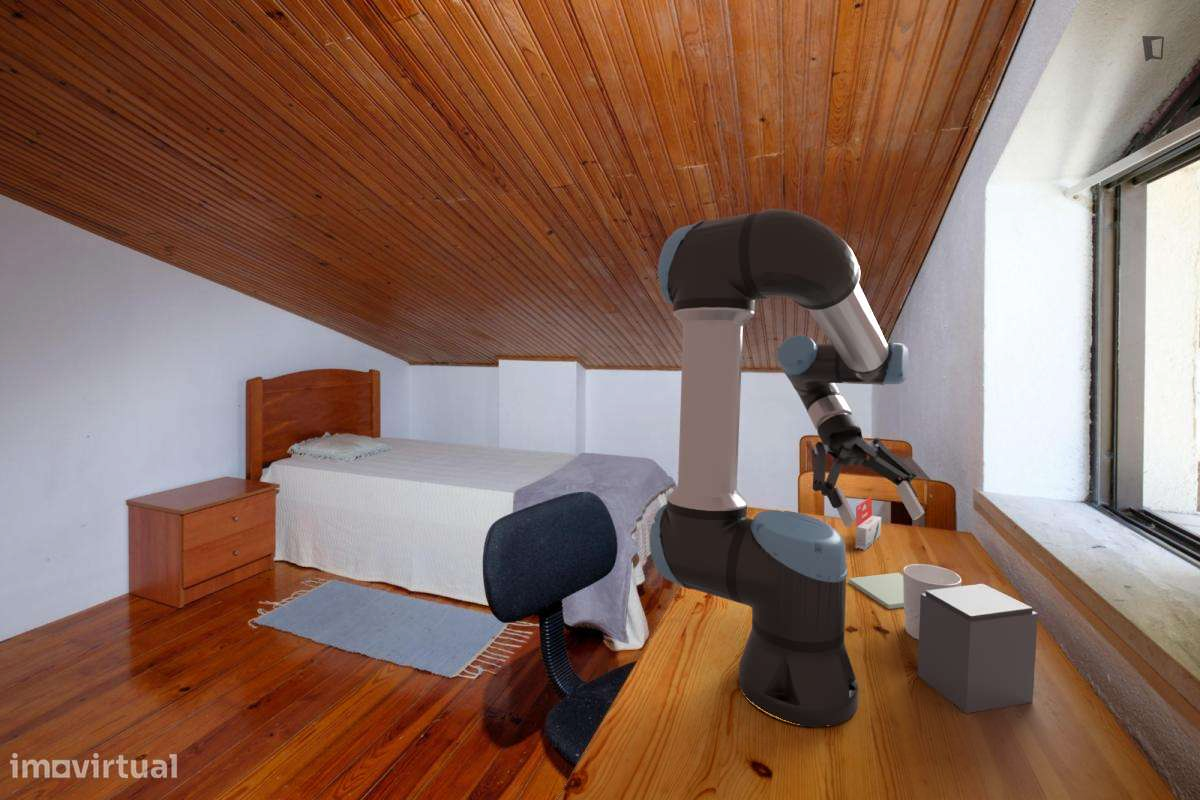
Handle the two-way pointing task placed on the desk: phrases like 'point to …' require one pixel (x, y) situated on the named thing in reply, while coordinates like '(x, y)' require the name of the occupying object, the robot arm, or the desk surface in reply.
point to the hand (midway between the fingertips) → (885, 519)
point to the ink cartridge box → (866, 525)
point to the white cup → (923, 590)
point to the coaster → (882, 588)
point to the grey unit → (977, 647)
